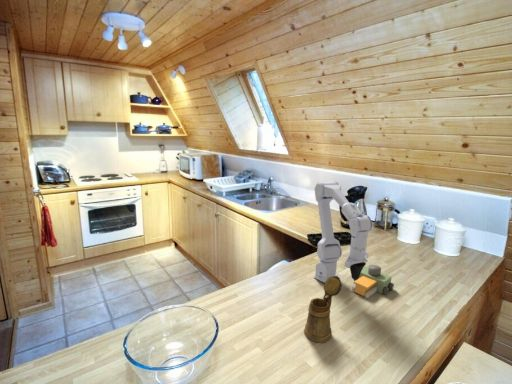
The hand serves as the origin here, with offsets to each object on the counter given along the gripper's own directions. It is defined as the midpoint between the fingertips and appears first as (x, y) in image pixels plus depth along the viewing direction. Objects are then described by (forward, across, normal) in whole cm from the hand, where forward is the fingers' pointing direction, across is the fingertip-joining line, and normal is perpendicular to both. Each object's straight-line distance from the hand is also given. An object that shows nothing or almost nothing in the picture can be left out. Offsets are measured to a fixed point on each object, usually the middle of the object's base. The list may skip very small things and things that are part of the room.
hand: (354, 278), depth 115 cm
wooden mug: (+9, -25, -3) cm, 27 cm away
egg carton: (+10, +47, +42) cm, 64 cm away
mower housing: (+9, +13, 0) cm, 16 cm away
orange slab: (+9, +9, 0) cm, 12 cm away
